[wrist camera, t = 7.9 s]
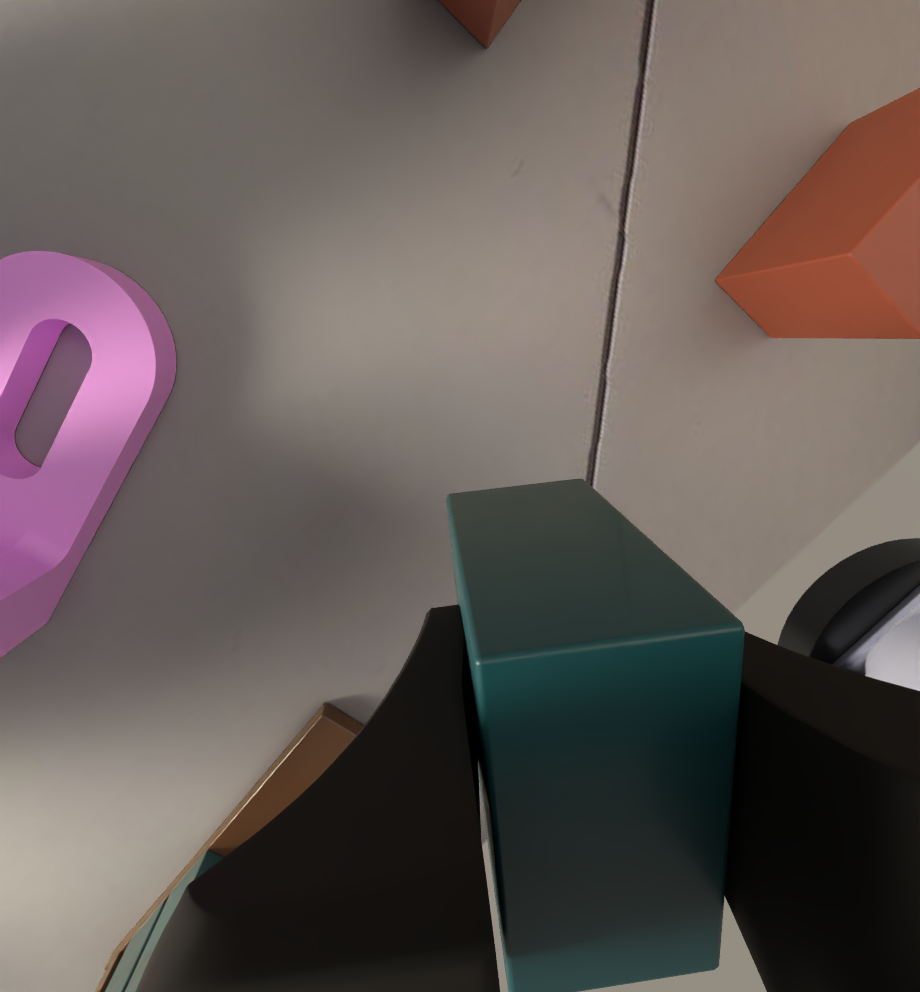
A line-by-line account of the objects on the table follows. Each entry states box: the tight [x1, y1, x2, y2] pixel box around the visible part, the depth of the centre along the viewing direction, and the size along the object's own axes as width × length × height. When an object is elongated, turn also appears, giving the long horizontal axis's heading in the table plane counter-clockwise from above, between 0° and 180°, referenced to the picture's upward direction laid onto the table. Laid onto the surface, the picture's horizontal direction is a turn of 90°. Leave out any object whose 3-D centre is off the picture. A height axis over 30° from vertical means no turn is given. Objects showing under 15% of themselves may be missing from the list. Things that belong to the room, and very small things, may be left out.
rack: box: [95, 703, 364, 992], centre depth 21 cm, size 6×18×7 cm, turn 141°
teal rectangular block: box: [446, 479, 745, 992], centre depth 9 cm, size 3×6×6 cm, turn 6°
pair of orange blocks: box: [439, 0, 920, 339], centre depth 13 cm, size 16×6×6 cm, turn 51°
